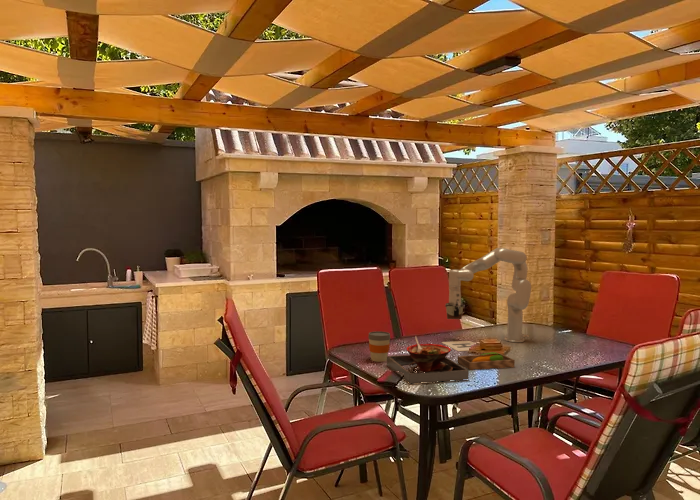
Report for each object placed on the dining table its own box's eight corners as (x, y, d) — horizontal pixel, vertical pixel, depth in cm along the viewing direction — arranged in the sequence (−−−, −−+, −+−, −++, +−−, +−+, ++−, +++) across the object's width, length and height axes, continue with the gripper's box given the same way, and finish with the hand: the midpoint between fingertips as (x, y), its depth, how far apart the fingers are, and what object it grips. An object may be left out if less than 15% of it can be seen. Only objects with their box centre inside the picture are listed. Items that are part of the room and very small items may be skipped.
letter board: (469, 341, 355) (469, 340, 355) (487, 349, 332) (487, 348, 332) (441, 342, 350) (441, 341, 350) (458, 351, 327) (458, 350, 327)
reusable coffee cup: (374, 363, 297) (375, 336, 296) (364, 358, 308) (364, 332, 307) (394, 361, 303) (394, 334, 302) (382, 355, 314) (383, 330, 313)
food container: (462, 317, 358) (462, 302, 358) (463, 319, 352) (464, 304, 351) (444, 317, 359) (444, 302, 358) (444, 318, 353) (445, 303, 352)
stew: (399, 364, 297) (399, 335, 296) (440, 362, 301) (441, 334, 300) (414, 378, 269) (415, 347, 268) (459, 377, 274) (460, 345, 273)
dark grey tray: (439, 362, 301) (439, 353, 301) (468, 380, 268) (468, 370, 267) (386, 365, 294) (387, 356, 293) (410, 384, 260) (410, 374, 260)
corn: (506, 352, 294) (476, 355, 286) (507, 366, 294) (476, 369, 286) (498, 350, 301) (468, 353, 293) (498, 363, 301) (468, 367, 293)
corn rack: (500, 360, 306) (501, 353, 306) (514, 367, 293) (514, 360, 293) (457, 363, 299) (457, 356, 299) (469, 370, 286) (469, 362, 286)
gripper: (465, 289, 346) (465, 317, 347) (454, 286, 363) (454, 313, 364) (454, 290, 344) (454, 318, 345) (444, 286, 361) (443, 313, 362)
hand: (454, 315), depth 355 cm, fingers closed on food container, 5 cm apart
